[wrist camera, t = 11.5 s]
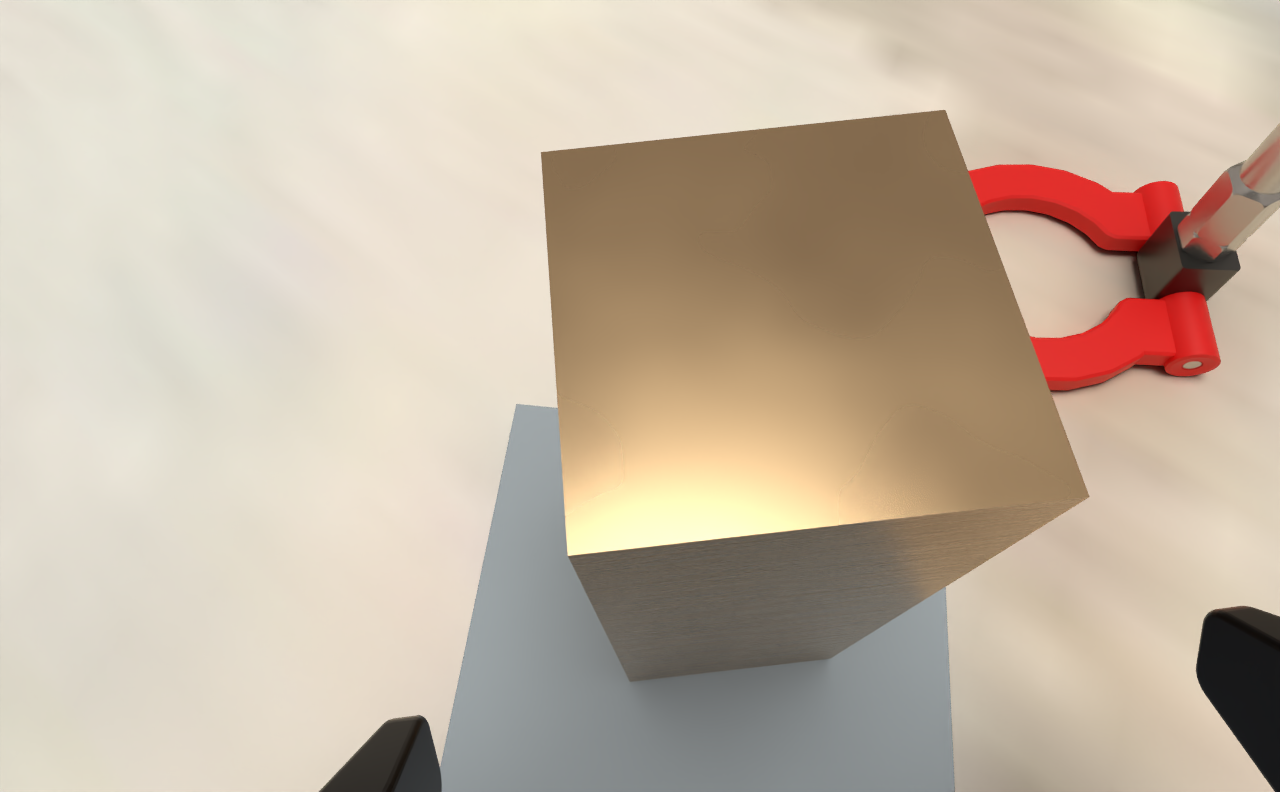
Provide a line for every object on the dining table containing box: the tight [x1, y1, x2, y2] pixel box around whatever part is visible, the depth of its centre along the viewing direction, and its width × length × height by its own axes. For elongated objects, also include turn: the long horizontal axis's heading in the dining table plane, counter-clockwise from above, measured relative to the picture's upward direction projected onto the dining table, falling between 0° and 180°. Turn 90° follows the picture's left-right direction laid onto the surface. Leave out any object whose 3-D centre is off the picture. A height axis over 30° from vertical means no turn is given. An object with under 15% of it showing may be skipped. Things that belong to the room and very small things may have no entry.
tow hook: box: [968, 123, 1280, 390], centre depth 20 cm, size 8×13×9 cm
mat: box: [440, 404, 955, 792], centre depth 20 cm, size 14×12×2 cm
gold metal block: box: [541, 110, 1089, 682], centre depth 14 cm, size 5×5×13 cm
